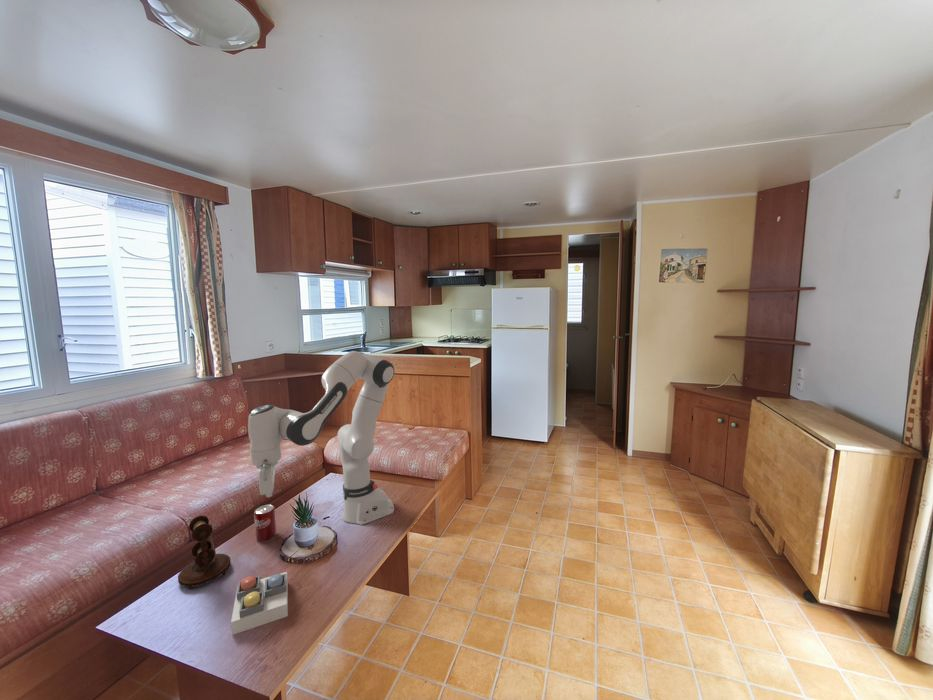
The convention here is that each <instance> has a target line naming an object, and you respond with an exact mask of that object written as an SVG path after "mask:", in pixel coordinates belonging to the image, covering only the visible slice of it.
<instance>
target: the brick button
mask: <svg viewBox="0 0 933 700" xmlns="http://www.w3.org/2000/svg"><path fill="white" fill-rule="evenodd" d="M240 581H241V591H245V590H248V589H252V588H255V587H256V576H254V575H248V576H246V577H244V578H243V579H242V580H240Z"/></svg>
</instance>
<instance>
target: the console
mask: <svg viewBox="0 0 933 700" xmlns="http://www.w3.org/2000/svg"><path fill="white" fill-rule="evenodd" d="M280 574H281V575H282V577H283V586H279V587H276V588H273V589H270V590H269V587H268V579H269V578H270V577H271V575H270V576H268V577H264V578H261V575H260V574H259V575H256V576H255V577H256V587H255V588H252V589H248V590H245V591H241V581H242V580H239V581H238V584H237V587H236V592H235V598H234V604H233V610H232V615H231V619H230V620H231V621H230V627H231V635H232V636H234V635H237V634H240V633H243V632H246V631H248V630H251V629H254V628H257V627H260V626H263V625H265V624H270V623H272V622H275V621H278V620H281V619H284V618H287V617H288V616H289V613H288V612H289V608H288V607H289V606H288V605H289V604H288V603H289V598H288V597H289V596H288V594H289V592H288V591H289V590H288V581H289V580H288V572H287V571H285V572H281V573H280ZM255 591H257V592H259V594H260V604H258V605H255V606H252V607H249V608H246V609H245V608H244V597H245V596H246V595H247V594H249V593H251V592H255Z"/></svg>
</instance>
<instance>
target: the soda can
mask: <svg viewBox="0 0 933 700" xmlns="http://www.w3.org/2000/svg"><path fill="white" fill-rule="evenodd" d="M253 517H254V518H253V520H254V528H255V529H254V530H255V540H256V542H258V543H266V542H269V541H271V540H273V539H274V538H275V537H276V536H277V534H278V533H277V522H276V521H277V520H276V519H277V518H276V508H275V506H274V505H272V504H265V505H261V506H259V507H257V508H256V509H255V510H254V511H253Z"/></svg>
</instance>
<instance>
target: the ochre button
mask: <svg viewBox="0 0 933 700" xmlns="http://www.w3.org/2000/svg"><path fill="white" fill-rule="evenodd" d="M258 604H260V594H259V592H257V591H255V592H251V593H249V594H247V595H246V596H245V597H244V608H245V609H246V608H249V607H252V606H255V605H258Z"/></svg>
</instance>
